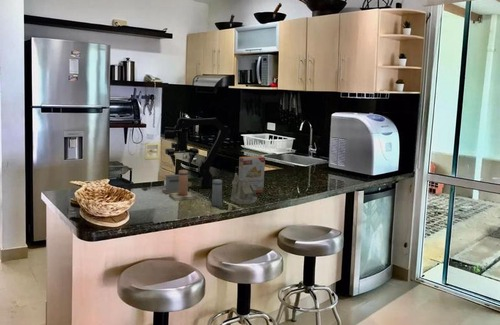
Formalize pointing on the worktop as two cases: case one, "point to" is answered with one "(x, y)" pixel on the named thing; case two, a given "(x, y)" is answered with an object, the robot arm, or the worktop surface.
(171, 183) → the service housing
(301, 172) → the worktop surface
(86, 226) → the worktop surface
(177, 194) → the birch dock plate
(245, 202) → the ceramic cottage
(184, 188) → the terracotta cartridge
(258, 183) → the cracker box
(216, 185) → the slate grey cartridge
